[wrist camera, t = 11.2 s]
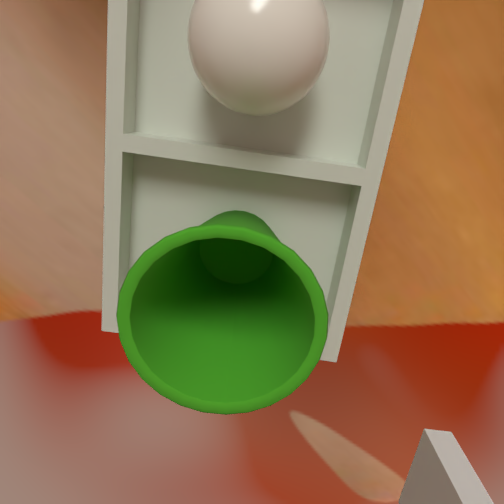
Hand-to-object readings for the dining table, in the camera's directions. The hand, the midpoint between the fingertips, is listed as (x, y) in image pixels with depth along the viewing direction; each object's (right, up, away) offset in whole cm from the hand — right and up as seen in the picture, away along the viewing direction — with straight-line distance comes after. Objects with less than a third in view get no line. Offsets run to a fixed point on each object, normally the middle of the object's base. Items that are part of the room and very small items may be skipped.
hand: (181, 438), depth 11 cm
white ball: (+2, +17, +12) cm, 21 cm away
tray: (+2, +11, +15) cm, 19 cm away
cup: (+1, +6, +17) cm, 18 cm away
